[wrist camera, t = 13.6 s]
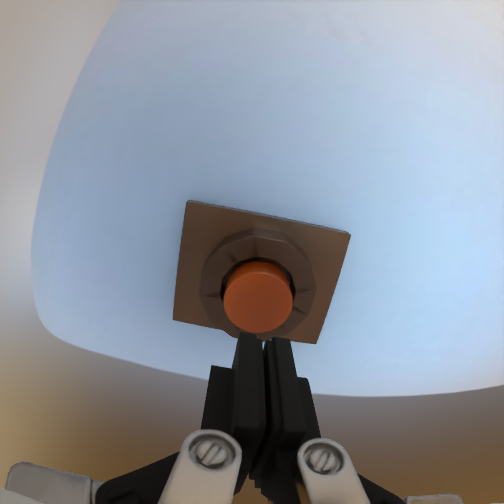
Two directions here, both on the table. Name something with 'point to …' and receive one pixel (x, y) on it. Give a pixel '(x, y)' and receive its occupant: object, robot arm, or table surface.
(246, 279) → the button
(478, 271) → the table surface
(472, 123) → the table surface
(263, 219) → the button block
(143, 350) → the table surface
